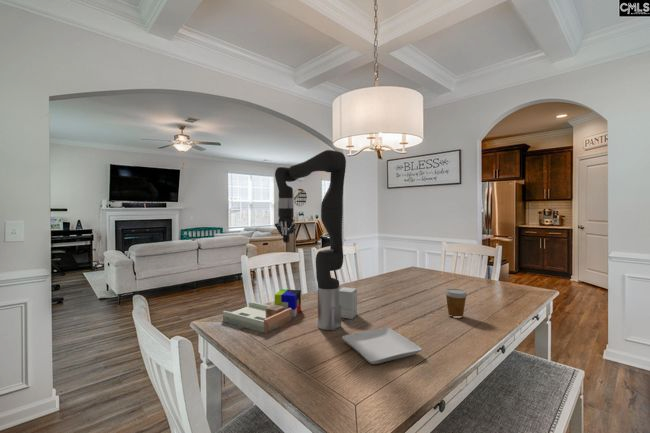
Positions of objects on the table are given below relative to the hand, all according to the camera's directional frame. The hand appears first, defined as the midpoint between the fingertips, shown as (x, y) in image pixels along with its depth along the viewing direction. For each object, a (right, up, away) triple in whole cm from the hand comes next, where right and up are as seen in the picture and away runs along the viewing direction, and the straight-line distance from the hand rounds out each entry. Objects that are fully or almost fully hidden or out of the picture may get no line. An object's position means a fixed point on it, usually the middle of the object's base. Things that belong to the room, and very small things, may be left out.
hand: (286, 242), depth 152 cm
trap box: (-11, -34, -13) cm, 39 cm away
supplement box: (+30, -35, -7) cm, 46 cm away
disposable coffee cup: (+81, -35, -7) cm, 88 cm away
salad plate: (+39, -36, -41) cm, 67 cm away
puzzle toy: (+1, -34, -2) cm, 35 cm away
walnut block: (-3, -32, -14) cm, 35 cm away
